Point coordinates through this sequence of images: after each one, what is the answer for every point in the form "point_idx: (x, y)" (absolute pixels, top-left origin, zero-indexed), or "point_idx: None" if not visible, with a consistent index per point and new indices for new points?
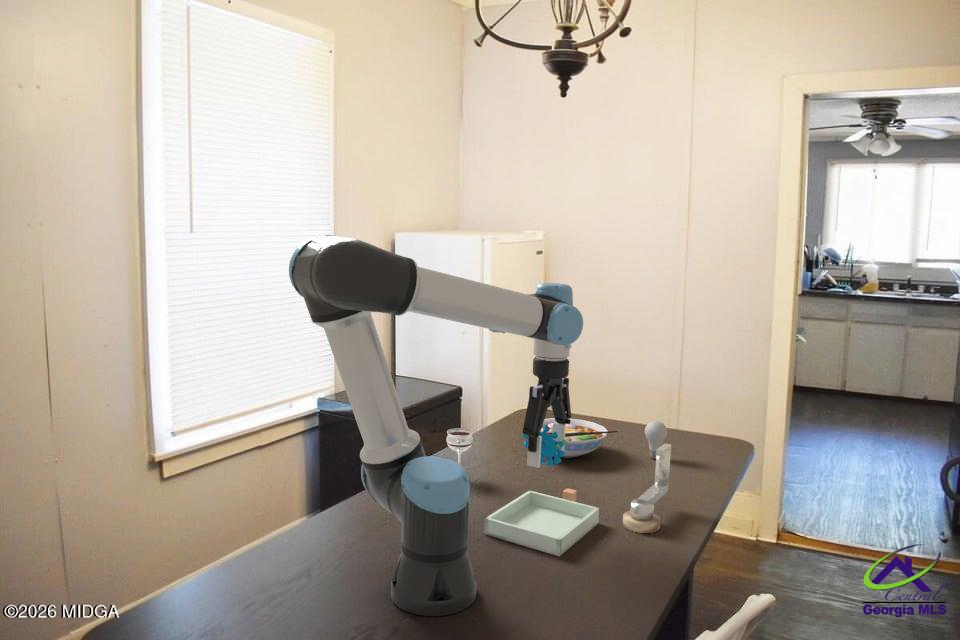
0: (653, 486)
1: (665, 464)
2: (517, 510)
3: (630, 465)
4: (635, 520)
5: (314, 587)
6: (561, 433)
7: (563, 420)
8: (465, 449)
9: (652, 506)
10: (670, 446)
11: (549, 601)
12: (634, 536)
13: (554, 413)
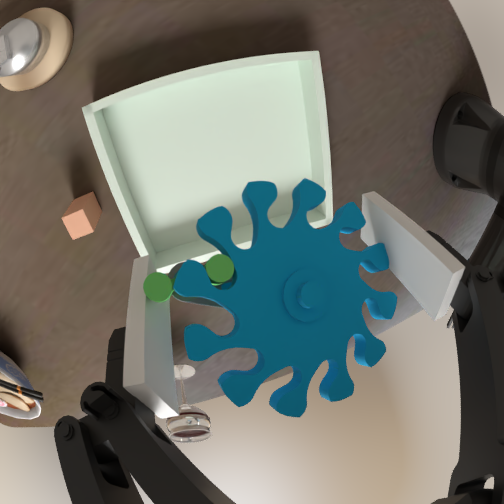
0: None
1: None
2: None
3: None
4: (51, 38)
5: (474, 224)
6: (151, 342)
7: (139, 418)
8: (186, 407)
9: (10, 21)
10: None
11: (414, 13)
12: (91, 14)
13: (196, 470)
